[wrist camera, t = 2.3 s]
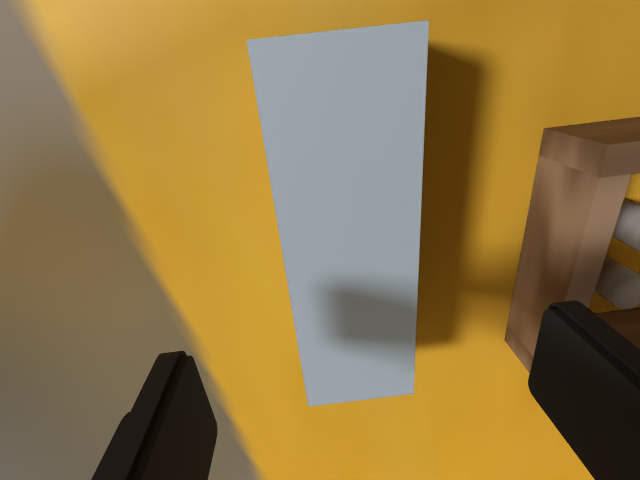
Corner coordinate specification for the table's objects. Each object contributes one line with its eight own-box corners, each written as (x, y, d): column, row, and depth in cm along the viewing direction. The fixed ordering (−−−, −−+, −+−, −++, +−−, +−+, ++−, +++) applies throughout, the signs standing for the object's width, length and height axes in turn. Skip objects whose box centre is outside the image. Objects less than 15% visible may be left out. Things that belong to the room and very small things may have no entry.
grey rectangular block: (261, 47, 13) (246, 39, 9) (389, 33, 13) (429, 19, 9) (305, 338, 20) (308, 406, 16) (390, 328, 20) (413, 393, 16)
